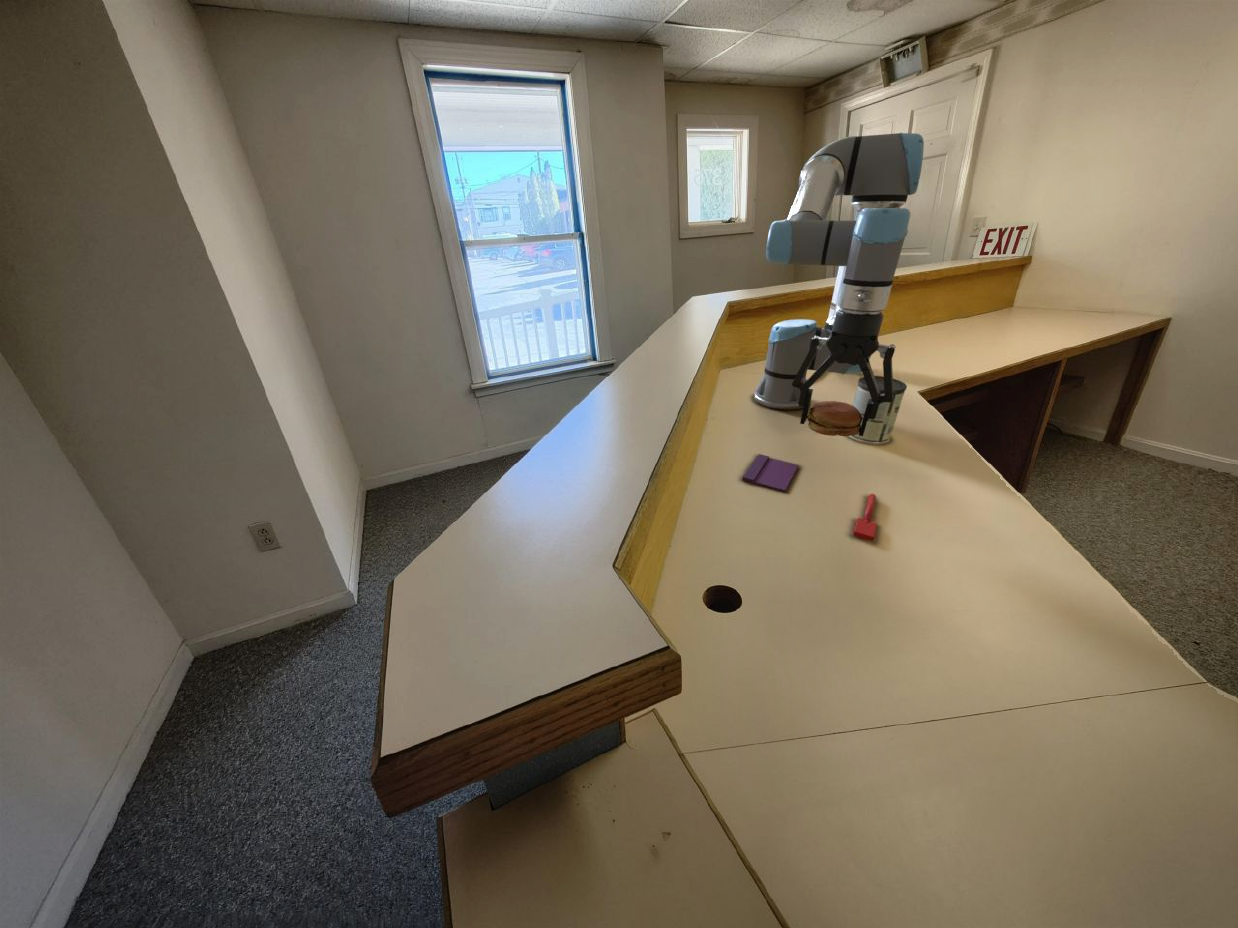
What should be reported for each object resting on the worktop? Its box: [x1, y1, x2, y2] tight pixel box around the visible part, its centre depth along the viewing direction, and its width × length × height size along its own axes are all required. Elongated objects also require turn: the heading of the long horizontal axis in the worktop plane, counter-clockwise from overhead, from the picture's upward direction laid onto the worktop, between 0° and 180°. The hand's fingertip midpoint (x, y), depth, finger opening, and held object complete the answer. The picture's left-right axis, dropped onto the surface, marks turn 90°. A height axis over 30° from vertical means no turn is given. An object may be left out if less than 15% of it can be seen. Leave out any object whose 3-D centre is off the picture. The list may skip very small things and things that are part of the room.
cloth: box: [742, 453, 799, 493], centre depth 99 cm, size 12×9×1 cm
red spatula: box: [852, 493, 878, 542], centre depth 85 cm, size 15×3×1 cm, turn 149°
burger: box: [806, 400, 862, 437], centre depth 88 cm, size 10×9×5 cm
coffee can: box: [848, 375, 908, 445], centre depth 112 cm, size 10×10×14 cm
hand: (831, 427), depth 89 cm, fingers closed on burger, 10 cm apart
